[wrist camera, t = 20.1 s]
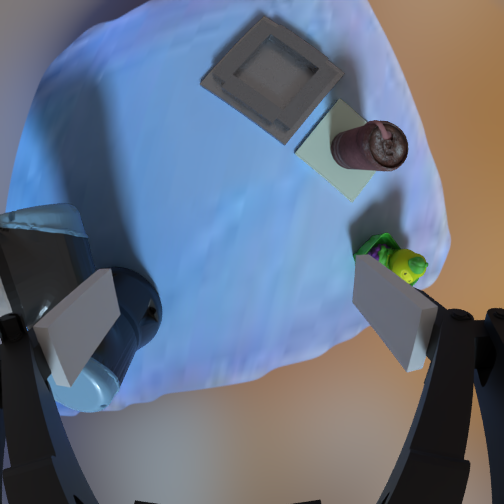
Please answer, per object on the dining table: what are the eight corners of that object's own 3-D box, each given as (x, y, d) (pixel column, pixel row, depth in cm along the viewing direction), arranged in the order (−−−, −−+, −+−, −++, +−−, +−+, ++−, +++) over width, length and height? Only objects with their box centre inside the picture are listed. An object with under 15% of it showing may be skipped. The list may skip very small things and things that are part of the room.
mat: (350, 202, 46) (352, 202, 46) (294, 153, 44) (294, 153, 43) (391, 148, 44) (393, 148, 43) (338, 98, 42) (340, 98, 41)
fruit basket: (342, 255, 49) (369, 279, 38) (378, 219, 47) (412, 233, 36) (378, 296, 51) (407, 326, 40) (411, 263, 50) (445, 285, 39)
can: (349, 122, 42) (390, 108, 29) (372, 155, 44) (419, 153, 30) (320, 143, 43) (355, 135, 30) (344, 176, 45) (385, 181, 31)
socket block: (284, 145, 43) (287, 143, 40) (200, 85, 40) (197, 79, 37) (342, 75, 40) (350, 69, 37) (263, 18, 37) (265, 9, 34)
